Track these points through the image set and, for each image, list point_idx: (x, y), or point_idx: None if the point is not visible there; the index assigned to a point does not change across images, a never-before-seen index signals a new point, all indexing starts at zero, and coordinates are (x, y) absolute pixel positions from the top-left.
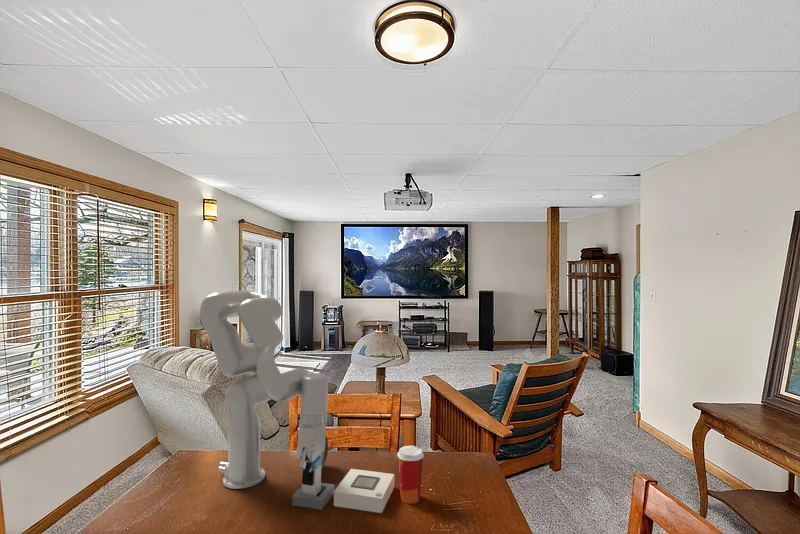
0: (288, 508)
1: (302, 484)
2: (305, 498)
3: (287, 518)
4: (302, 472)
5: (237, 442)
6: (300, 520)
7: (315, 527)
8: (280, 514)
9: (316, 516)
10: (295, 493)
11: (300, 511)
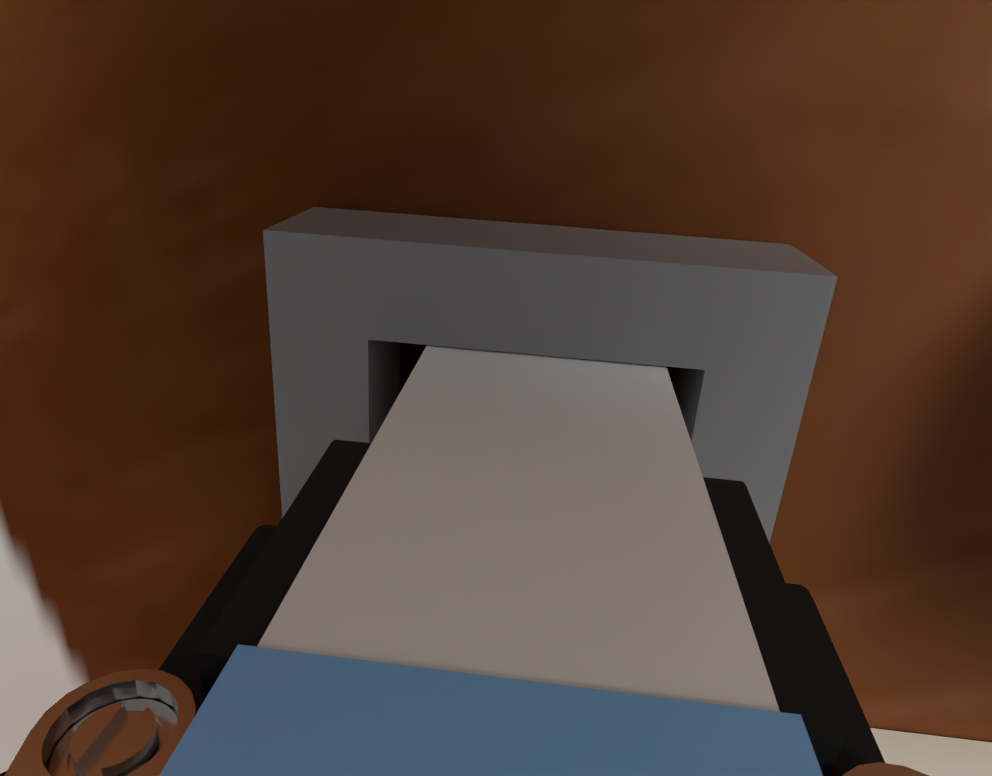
0: (231, 188)
1: (395, 405)
2: (281, 451)
3: (39, 272)
4: (312, 551)
5: None
6: (72, 433)
7: (39, 603)
8: (71, 138)
9: (200, 565)
10: (359, 251)
11: (224, 371)
